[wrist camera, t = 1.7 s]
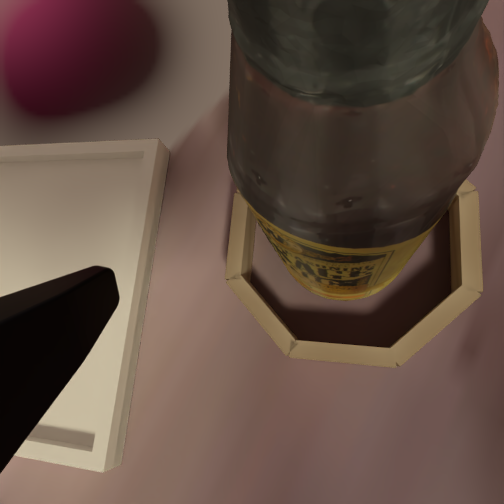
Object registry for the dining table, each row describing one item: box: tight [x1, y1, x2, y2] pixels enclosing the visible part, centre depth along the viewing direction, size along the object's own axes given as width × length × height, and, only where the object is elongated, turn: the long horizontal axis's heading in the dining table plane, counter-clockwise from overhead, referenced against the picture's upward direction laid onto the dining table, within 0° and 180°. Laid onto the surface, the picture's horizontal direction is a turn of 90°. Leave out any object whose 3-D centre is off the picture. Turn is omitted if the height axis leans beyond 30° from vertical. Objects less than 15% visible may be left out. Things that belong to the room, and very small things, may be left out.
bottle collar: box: [225, 180, 483, 368], centre depth 20 cm, size 12×12×2 cm
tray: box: [0, 138, 170, 472], centre depth 24 cm, size 18×14×2 cm
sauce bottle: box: [227, 0, 499, 301], centre depth 12 cm, size 7×6×20 cm
